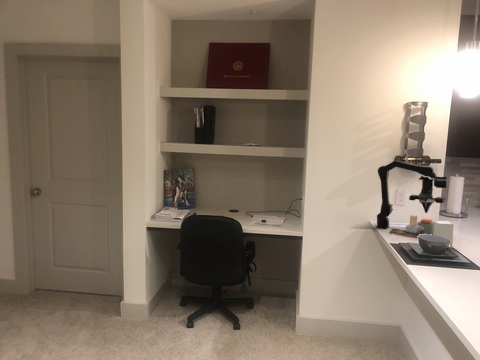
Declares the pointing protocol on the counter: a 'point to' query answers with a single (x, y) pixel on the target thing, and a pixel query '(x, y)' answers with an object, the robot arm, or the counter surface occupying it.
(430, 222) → the button
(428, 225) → the green jar
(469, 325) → the counter surface
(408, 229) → the blue and cream block
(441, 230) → the supplement box
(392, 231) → the rail bed
